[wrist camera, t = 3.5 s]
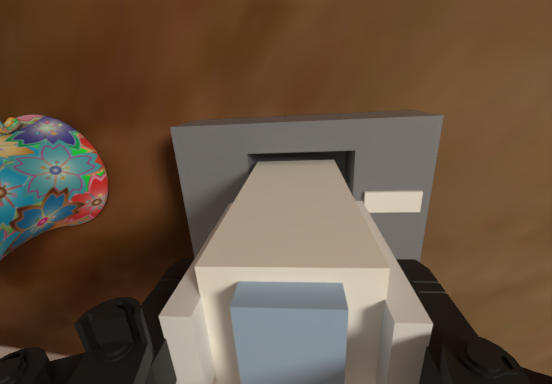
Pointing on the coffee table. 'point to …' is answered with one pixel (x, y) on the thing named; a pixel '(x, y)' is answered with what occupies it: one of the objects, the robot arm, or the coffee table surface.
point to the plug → (294, 281)
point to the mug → (46, 179)
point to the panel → (316, 146)
